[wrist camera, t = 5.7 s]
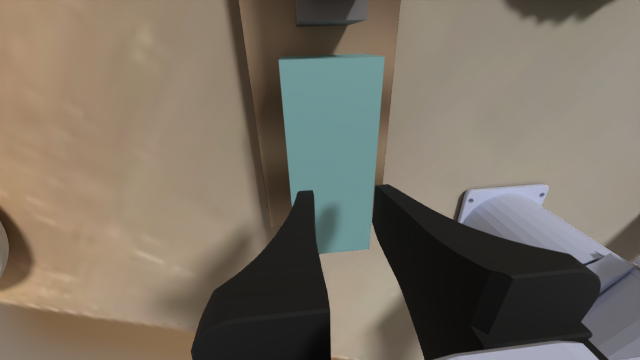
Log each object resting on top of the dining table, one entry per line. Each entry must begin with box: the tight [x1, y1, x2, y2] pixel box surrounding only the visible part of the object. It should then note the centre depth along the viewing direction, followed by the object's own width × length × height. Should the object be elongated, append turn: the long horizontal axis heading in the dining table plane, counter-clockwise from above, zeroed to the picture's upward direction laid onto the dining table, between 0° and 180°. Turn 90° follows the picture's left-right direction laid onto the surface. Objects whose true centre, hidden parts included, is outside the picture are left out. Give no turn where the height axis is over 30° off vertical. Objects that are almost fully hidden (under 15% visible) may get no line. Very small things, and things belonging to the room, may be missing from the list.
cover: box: [279, 54, 385, 254], centre depth 17 cm, size 12×5×4 cm, turn 1°
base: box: [239, 0, 401, 227], centre depth 16 cm, size 18×9×6 cm, turn 2°
